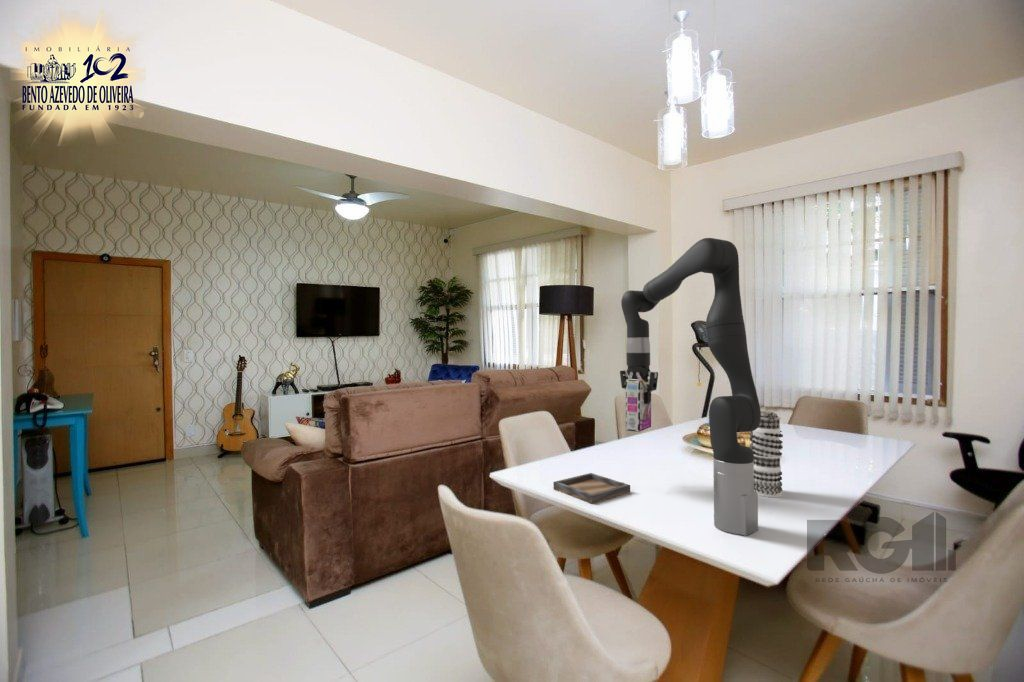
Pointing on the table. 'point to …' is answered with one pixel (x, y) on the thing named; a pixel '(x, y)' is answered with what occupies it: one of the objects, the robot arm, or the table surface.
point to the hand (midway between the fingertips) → (638, 402)
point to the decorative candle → (767, 455)
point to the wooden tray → (591, 487)
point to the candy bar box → (636, 406)
